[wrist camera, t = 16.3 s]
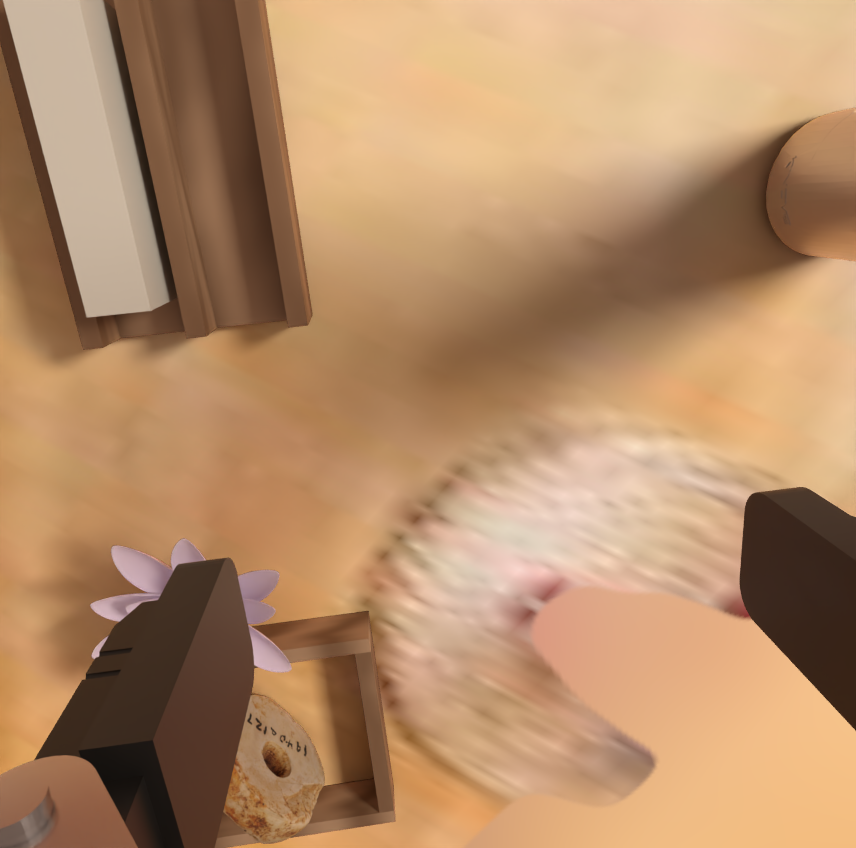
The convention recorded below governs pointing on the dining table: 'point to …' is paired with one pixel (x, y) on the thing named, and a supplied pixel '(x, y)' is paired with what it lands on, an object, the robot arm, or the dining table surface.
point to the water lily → (154, 578)
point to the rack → (199, 168)
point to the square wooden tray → (372, 796)
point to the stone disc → (273, 774)
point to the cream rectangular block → (94, 152)
